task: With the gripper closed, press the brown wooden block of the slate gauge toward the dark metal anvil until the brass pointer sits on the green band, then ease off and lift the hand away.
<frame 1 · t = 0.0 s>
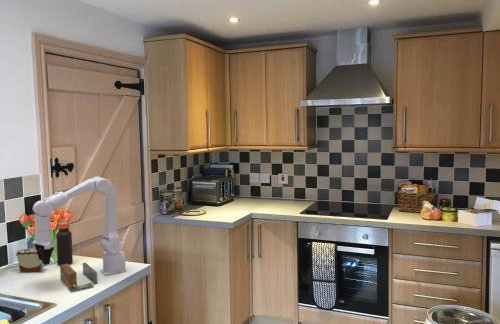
hand: (44, 262, 177), 10 cm above the table, tool pointing down, fingers open, 7 cm apart
food container: (33, 271, 196), on the table
gauge frame: (68, 283, 181), on the table
brown wooden block: (69, 276, 179), point 3 cm above the table, slide at 0.0 cm
bottle: (65, 264, 205), on the table
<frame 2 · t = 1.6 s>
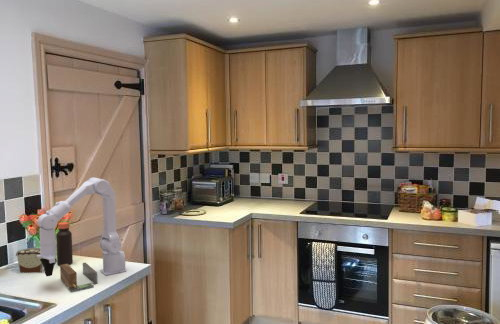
hand: (48, 275, 176), 5 cm above the table, tool pointing down, fingers closed
nothing on the table moved.
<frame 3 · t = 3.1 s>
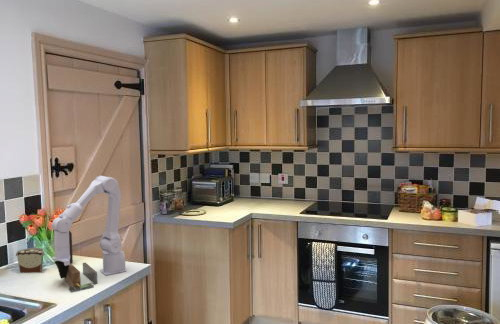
hand: (63, 277, 179), 3 cm above the table, tool pointing down, fingers closed, pressing on brown wooden block
brown wooden block: (72, 276, 180), point 3 cm above the table, slide at 1.4 cm, touching gripper
everything else where it was.
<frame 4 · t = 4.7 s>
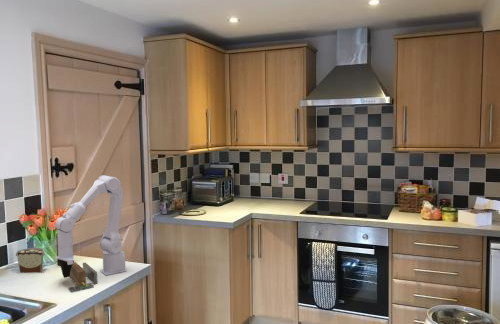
hand: (66, 276, 180), 3 cm above the table, tool pointing down, fingers closed
brown wooden block: (78, 274, 181), point 3 cm above the table, slide at 3.6 cm
everything else where it was.
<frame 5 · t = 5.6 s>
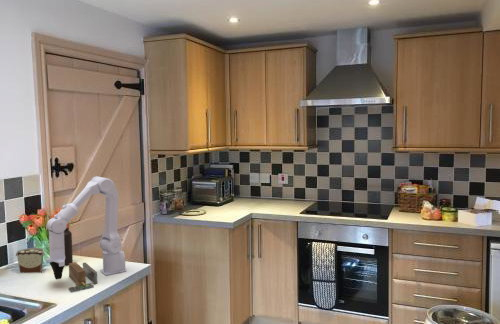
hand: (58, 278, 178), 3 cm above the table, tool pointing down, fingers closed
nothing on the table moved.
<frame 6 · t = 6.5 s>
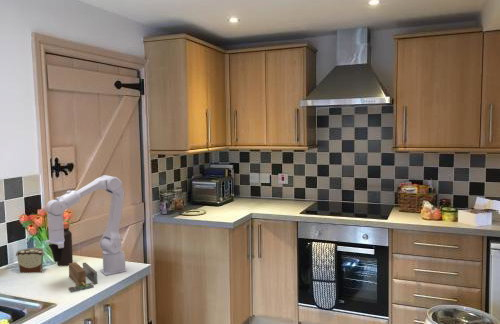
hand: (57, 261, 178), 10 cm above the table, tool pointing down, fingers closed
nothing on the table moved.
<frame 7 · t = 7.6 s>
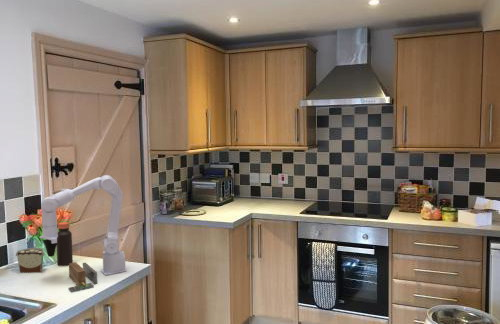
hand: (51, 256, 184), 10 cm above the table, tool pointing down, fingers closed
nothing on the table moved.
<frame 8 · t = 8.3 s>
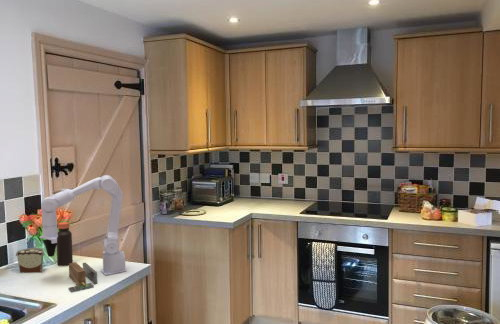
hand: (51, 256, 184), 10 cm above the table, tool pointing down, fingers closed
nothing on the table moved.
at the end: brown wooden block slide at 3.6 cm; food container moved 0.2 cm from its start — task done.
